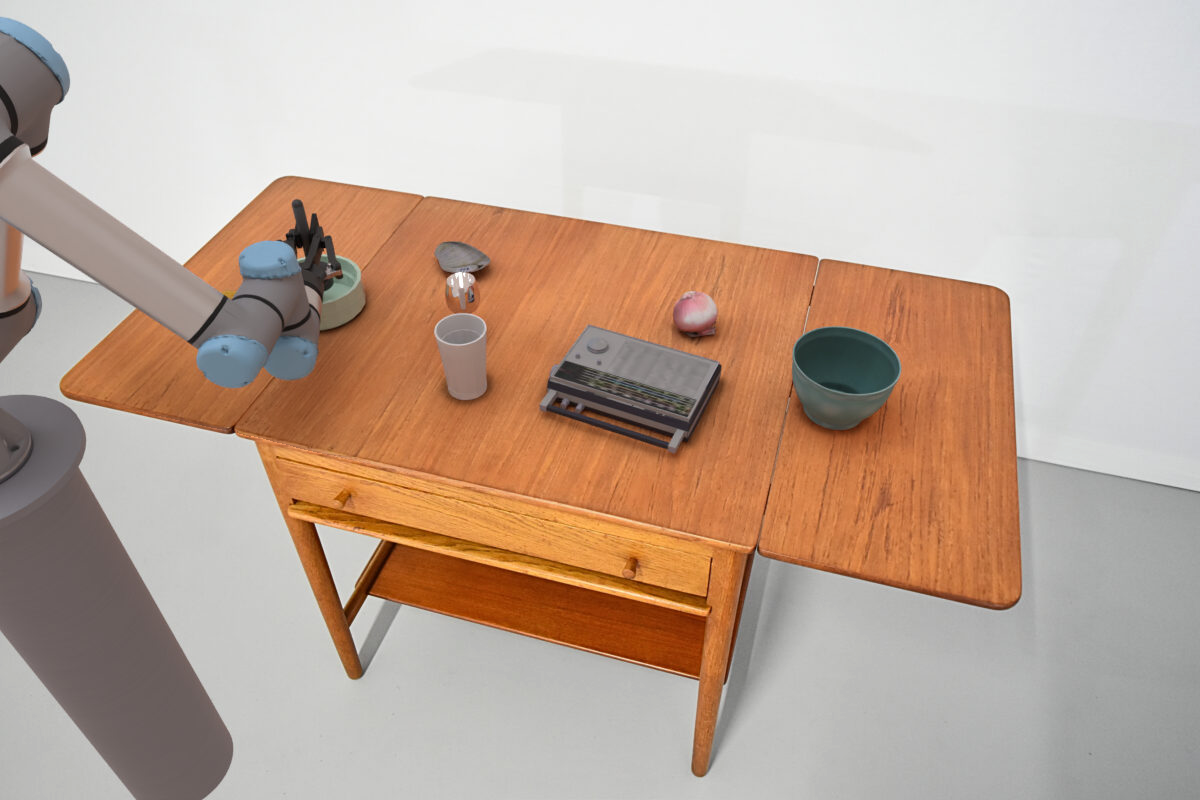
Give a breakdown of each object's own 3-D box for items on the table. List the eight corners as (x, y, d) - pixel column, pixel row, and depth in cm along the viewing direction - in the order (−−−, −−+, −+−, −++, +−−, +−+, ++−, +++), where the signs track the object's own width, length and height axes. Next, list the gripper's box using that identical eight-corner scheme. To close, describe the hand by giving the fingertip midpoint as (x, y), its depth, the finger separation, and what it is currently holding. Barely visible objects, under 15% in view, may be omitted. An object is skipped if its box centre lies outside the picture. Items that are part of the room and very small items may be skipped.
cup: (435, 380, 147) (426, 322, 139) (480, 365, 150) (474, 307, 142) (454, 409, 142) (446, 351, 134) (500, 393, 145) (495, 335, 137)
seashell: (421, 271, 169) (418, 248, 166) (447, 249, 175) (444, 227, 171) (473, 289, 165) (471, 266, 162) (498, 266, 171) (496, 244, 167)
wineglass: (475, 350, 152) (469, 293, 144) (444, 343, 154) (437, 286, 146) (489, 330, 157) (484, 274, 148) (459, 324, 158) (452, 267, 150)
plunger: (312, 297, 155) (290, 212, 143) (295, 284, 158) (271, 199, 146) (340, 284, 158) (320, 199, 146) (322, 271, 161) (302, 187, 149)
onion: (693, 309, 162) (696, 276, 157) (726, 329, 158) (730, 296, 153) (663, 328, 157) (665, 295, 153) (696, 349, 153) (699, 315, 149)
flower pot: (841, 365, 151) (854, 314, 143) (907, 426, 140) (924, 374, 133) (762, 395, 145) (771, 343, 138) (823, 460, 135) (837, 408, 127)
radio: (723, 355, 144) (680, 436, 131) (720, 380, 148) (678, 461, 134) (585, 316, 151) (531, 389, 138) (585, 341, 155) (532, 414, 141)
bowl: (308, 345, 153) (300, 317, 149) (262, 306, 161) (253, 278, 157) (383, 307, 161) (378, 279, 157) (335, 271, 169) (329, 244, 165)
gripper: (253, 325, 140) (269, 242, 157) (350, 316, 142) (355, 235, 159) (240, 285, 135) (258, 205, 152) (341, 277, 137) (348, 198, 154)
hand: (308, 220), depth 155 cm, fingers closed on plunger, 2 cm apart
